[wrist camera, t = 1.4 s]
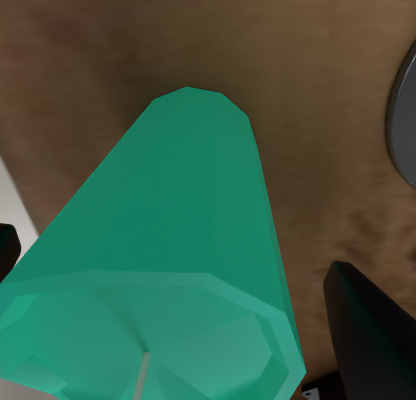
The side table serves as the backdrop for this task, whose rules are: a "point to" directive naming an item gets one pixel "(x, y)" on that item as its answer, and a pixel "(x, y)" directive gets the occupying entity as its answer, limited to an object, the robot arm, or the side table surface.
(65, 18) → the side table surface
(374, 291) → the robot arm
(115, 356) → the candle
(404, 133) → the slate coaster
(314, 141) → the side table surface
